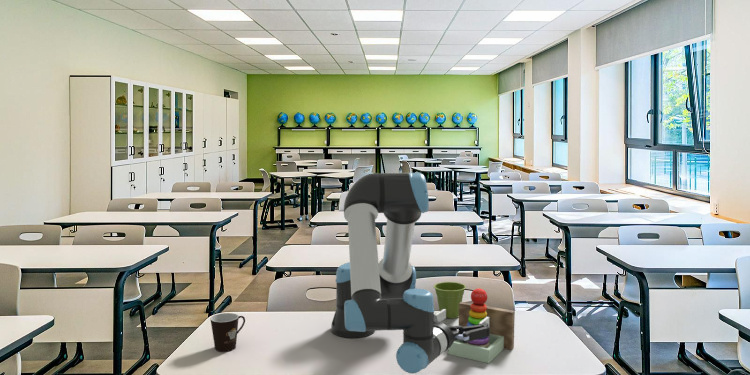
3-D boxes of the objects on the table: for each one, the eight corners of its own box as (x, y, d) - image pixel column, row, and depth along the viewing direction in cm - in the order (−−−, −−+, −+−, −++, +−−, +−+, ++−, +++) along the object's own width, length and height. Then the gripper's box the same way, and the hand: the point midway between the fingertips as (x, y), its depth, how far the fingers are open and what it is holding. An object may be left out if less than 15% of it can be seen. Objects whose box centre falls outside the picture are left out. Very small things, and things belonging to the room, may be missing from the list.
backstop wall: (458, 338, 188) (458, 303, 186) (460, 336, 189) (461, 301, 188) (511, 349, 178) (512, 312, 177) (513, 347, 180) (514, 310, 179)
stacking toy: (484, 354, 172) (485, 294, 170) (459, 349, 176) (460, 290, 174) (493, 345, 179) (494, 287, 177) (469, 341, 183) (470, 284, 181)
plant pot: (447, 308, 219) (447, 279, 218) (472, 315, 210) (472, 286, 209) (426, 315, 211) (426, 285, 210) (451, 323, 202) (451, 292, 201)
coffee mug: (214, 355, 174) (213, 323, 173) (208, 345, 182) (207, 315, 181) (252, 348, 179) (251, 317, 178) (244, 339, 187) (244, 310, 186)
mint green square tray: (448, 354, 175) (448, 341, 174) (464, 340, 186) (465, 328, 185) (489, 363, 168) (489, 350, 168) (503, 348, 179) (503, 336, 179)
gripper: (393, 344, 157) (427, 322, 175) (479, 364, 144) (506, 337, 162) (393, 318, 156) (428, 298, 174) (480, 335, 143) (507, 312, 161)
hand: (466, 317), depth 168 cm, fingers open, 13 cm apart
